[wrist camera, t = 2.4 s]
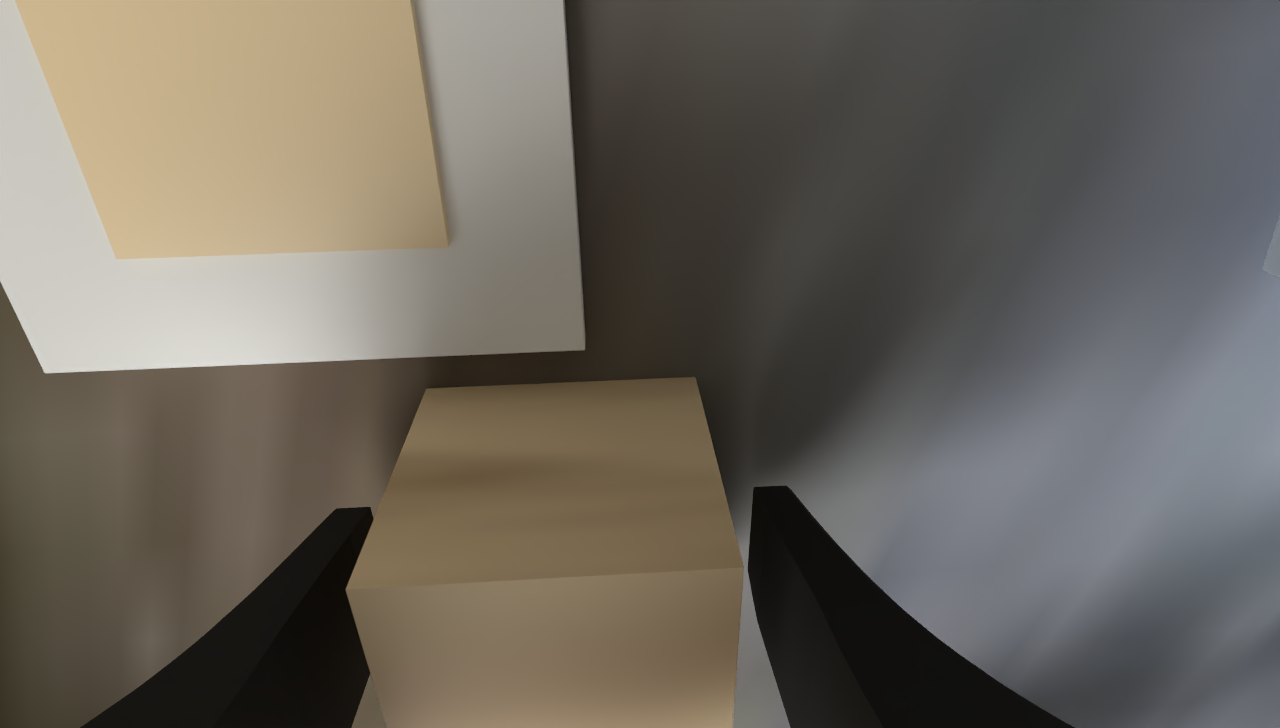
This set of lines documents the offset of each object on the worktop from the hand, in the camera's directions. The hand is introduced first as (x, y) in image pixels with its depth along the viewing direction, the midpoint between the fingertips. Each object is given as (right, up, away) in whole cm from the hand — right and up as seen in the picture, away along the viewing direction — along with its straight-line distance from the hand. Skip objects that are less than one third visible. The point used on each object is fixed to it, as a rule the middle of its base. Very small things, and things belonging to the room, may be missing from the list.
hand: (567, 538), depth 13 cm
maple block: (0, +1, +1) cm, 2 cm away
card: (-4, +8, -3) cm, 9 cm away
